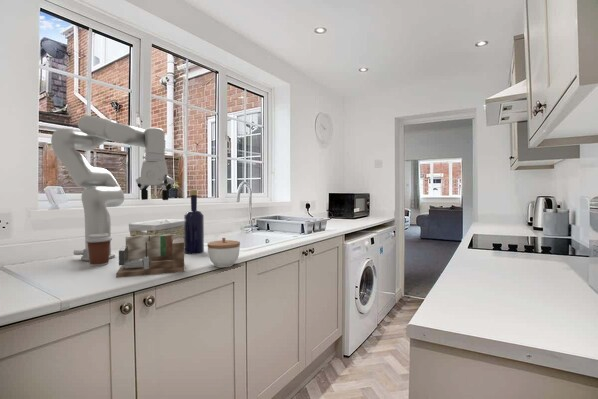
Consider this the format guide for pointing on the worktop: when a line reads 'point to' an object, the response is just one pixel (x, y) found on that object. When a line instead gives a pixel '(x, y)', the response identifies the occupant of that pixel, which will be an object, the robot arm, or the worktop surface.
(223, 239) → the lidded bowl
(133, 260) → the grey angle bracket
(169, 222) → the storage basket
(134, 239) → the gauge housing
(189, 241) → the bottle
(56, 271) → the worktop surface
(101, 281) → the worktop surface
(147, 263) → the max needle
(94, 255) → the coffee cup
